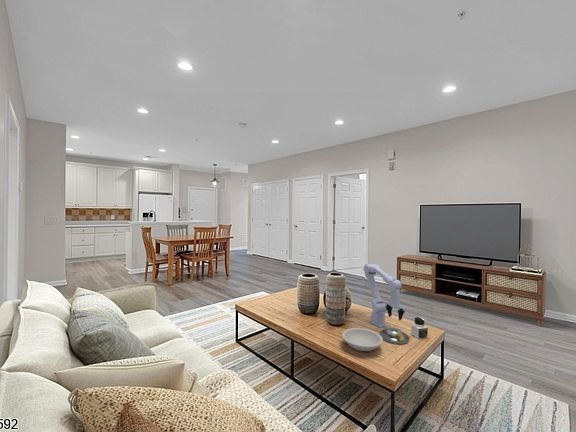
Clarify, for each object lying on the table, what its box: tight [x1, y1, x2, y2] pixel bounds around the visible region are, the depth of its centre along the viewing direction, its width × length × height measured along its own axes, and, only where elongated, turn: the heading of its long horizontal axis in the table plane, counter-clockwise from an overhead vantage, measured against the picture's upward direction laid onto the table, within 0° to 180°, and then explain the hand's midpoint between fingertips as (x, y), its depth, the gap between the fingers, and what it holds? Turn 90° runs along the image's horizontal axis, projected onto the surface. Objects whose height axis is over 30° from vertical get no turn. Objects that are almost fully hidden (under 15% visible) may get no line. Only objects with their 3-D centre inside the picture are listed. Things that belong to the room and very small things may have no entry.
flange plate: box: [379, 329, 410, 346], centre depth 180 cm, size 18×18×2 cm
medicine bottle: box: [410, 316, 429, 340], centre depth 183 cm, size 7×7×12 cm
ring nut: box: [384, 324, 404, 341], centre depth 180 cm, size 9×16×3 cm, turn 23°
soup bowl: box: [341, 327, 384, 352], centre depth 168 cm, size 24×24×7 cm
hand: (395, 318), depth 186 cm, fingers open, 7 cm apart
